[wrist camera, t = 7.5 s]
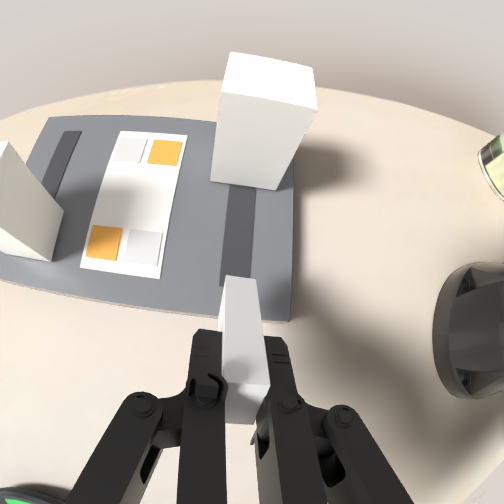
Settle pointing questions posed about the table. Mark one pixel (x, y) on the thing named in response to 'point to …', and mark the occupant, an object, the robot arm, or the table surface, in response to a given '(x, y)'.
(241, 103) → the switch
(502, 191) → the coffee can
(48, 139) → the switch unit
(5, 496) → the electronic game
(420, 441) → the table surface
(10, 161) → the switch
